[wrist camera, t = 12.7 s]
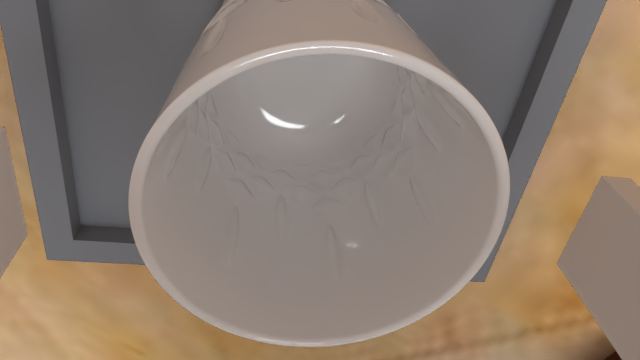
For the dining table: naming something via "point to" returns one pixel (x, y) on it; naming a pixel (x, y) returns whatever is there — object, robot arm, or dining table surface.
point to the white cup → (316, 176)
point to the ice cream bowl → (614, 357)
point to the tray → (170, 56)
